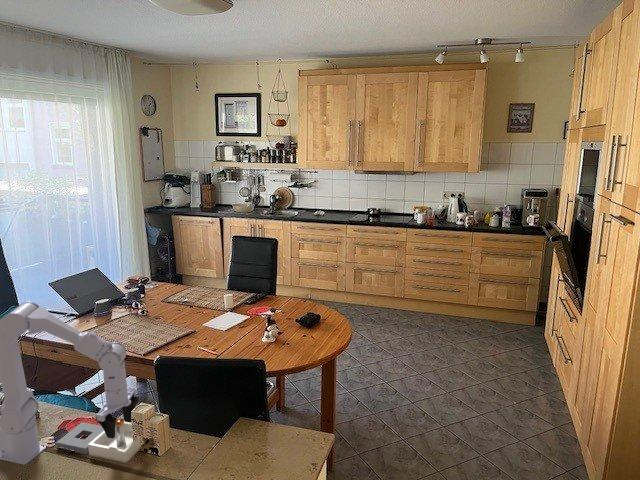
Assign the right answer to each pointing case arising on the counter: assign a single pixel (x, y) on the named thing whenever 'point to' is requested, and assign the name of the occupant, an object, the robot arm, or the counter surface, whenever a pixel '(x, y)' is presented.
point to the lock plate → (73, 436)
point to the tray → (115, 446)
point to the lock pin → (120, 432)
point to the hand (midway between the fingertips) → (119, 429)
